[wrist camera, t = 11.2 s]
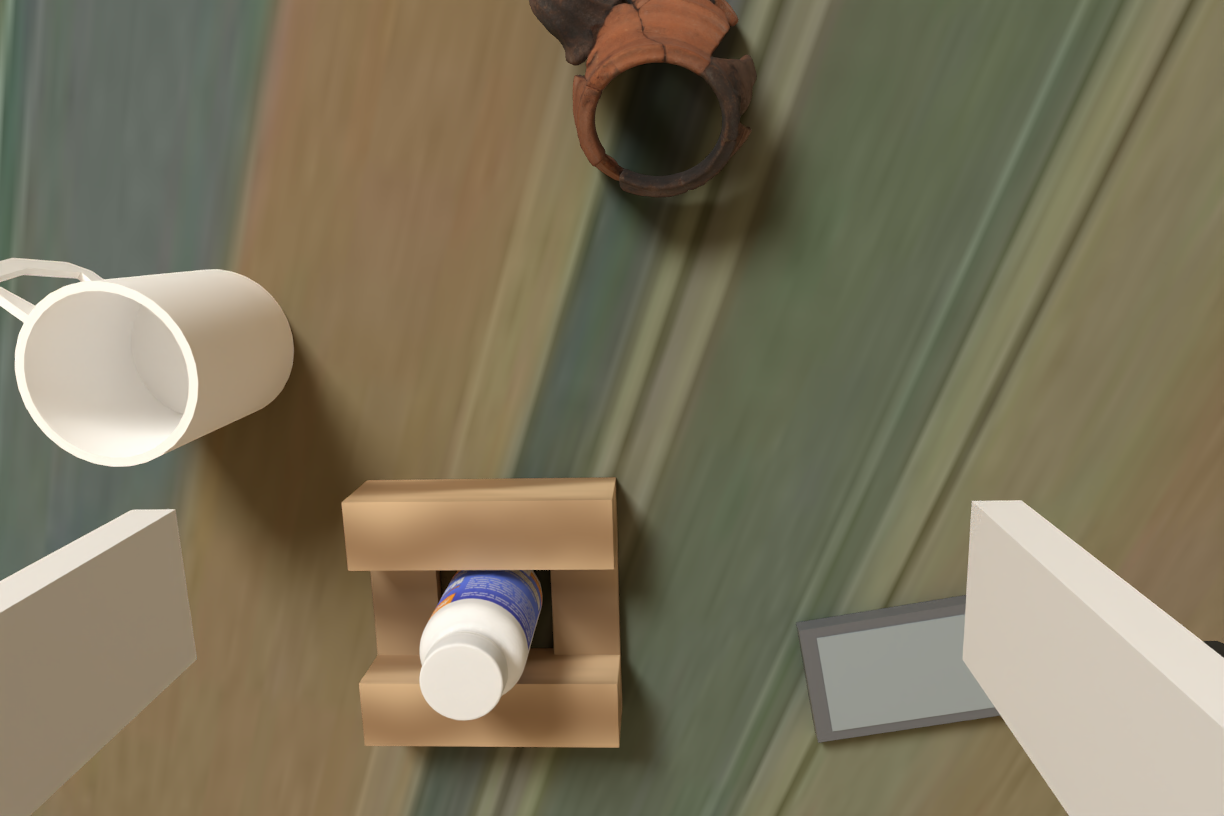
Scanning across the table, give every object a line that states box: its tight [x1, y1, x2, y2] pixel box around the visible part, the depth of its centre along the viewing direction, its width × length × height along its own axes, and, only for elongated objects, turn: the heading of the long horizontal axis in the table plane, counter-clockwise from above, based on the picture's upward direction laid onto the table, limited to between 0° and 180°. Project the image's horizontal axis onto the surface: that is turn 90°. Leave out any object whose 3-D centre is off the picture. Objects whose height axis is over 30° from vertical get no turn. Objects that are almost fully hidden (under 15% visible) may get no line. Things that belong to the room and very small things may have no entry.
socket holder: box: [342, 477, 622, 748], centre depth 47 cm, size 14×14×4 cm
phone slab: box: [796, 595, 1000, 743], centre depth 48 cm, size 7×13×1 cm, turn 102°
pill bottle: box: [419, 570, 543, 721], centre depth 45 cm, size 5×5×10 cm
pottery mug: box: [529, 0, 757, 197], centre depth 41 cm, size 12×10×8 cm
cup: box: [0, 258, 294, 467], centre depth 42 cm, size 8×12×10 cm
